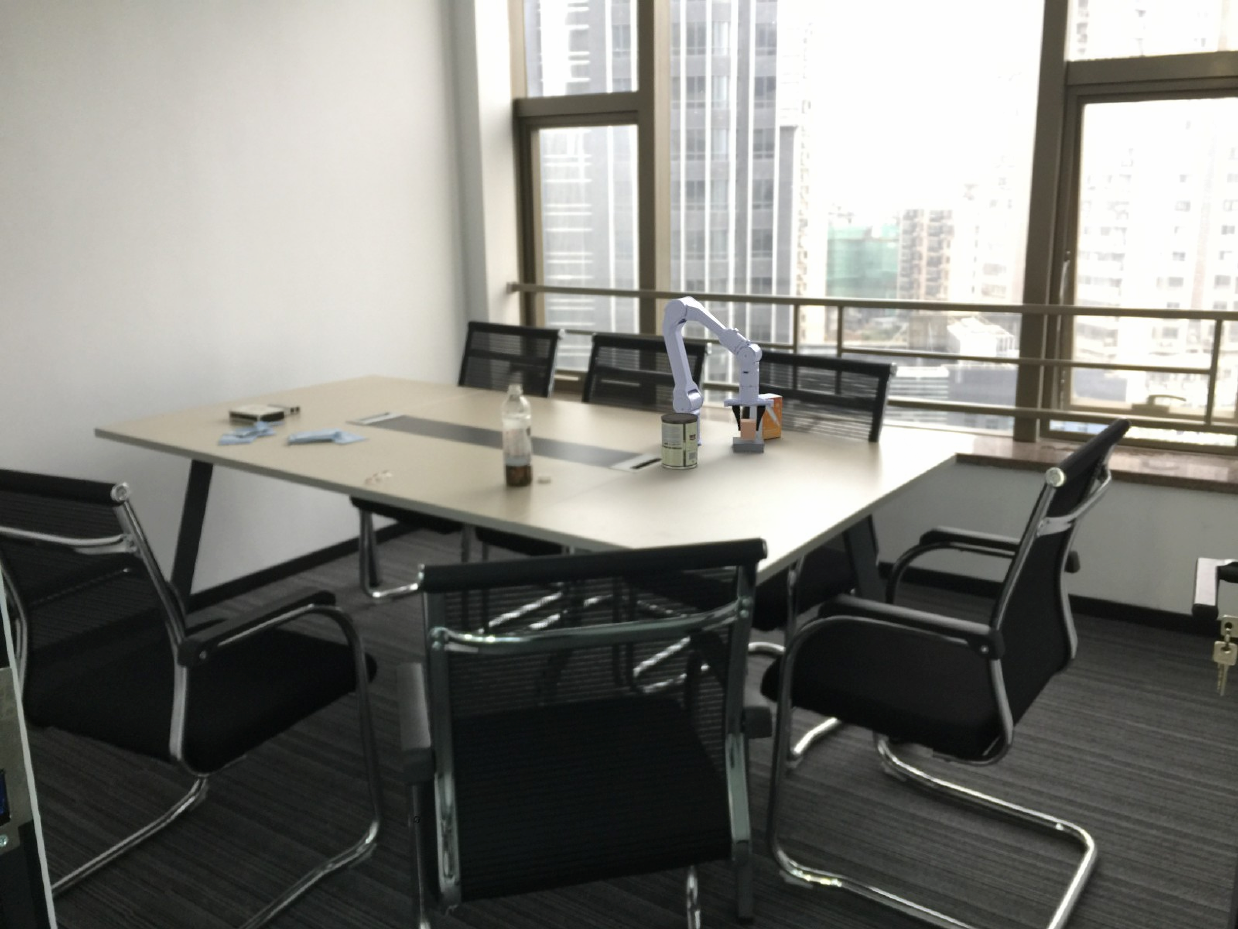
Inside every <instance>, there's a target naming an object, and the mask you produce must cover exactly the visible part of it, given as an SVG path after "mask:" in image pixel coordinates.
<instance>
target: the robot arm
mask: <svg viewBox="0 0 1238 929" xmlns="http://www.w3.org/2000/svg"><path fill="white" fill-rule="evenodd" d="M663 312H664V316H663V321H662V325H661V331H662V336H663V339H664V344H665V348H666V352H667V355H668V360H669V363H670V368H671V372H672V377H673V381H674V388H673V390H672V395H673V400H672V407H673V410H674V411H675V413H691V414H695V415H697V416H698V419H697V446H698V445H699V446H700V445H701V446H702V437H701V410H700V409H701V408H702V407H703V404H704V397H703V394H702V392H700V390H699V387H698V384H696V382H695V381H693V377H692V373H691V368H690V364H689V360H688V357H687V356H688V355H687V351H686V348H685V344H684V339H683V335H682V329H683V327H684V326H685V324H686V323H687V321H693V322H698V323H699V324H701V325H702V326H704V328H706V329H708V330H709V331H711V332H712V333H713V334H715V335H716V336H717V337H718V342H719V344H721V345H722V346H723V347H724V348H725V349H727V351H729V352H730V353H731V354H733V355H734V356H735V357H736V361H737V362H738V363H739V378H738V381H739V384H738V385H739V387H738V389H739V390H738V398H726V399H723V407H724V408H729V407H731V410H732V412H733V415H734V418H735V421H736V424H737V430H738V432H741V407H750V406H757V419H756V431H759V425H760V422H761V419H762V416H763V414H764V412H765V410H766V406H770V407H774V400H773V399H758V398H759V395H760V393H759V391H760V390H759V389H760V384H759V383H760V382H759V381H760V360H761V359H762V356H763V350H762V348H761V347H760V346H759V345H758V343H755V342H751V340H750V339H747V338H745V337H744V336H743V335H742V334H741V333H739V332H740V331H739V329H738V328H733V327H726V326H725V325H723V324H722V323H721V321H719V320H718V319H717V318H716V317H715V316H714V315H713V314H712V313H710V312H709V311H708V310H707V309H706V308H705V307H704V306H703V304H702V303H701V302H699V301H697V300H696V299H695V298H693V297H692V296H688V295H687V296H684V297H682V298H673V299H671V300H670V301H669V302H668V303H667V304H666V306H665V307H664V309H663Z"/></svg>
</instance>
